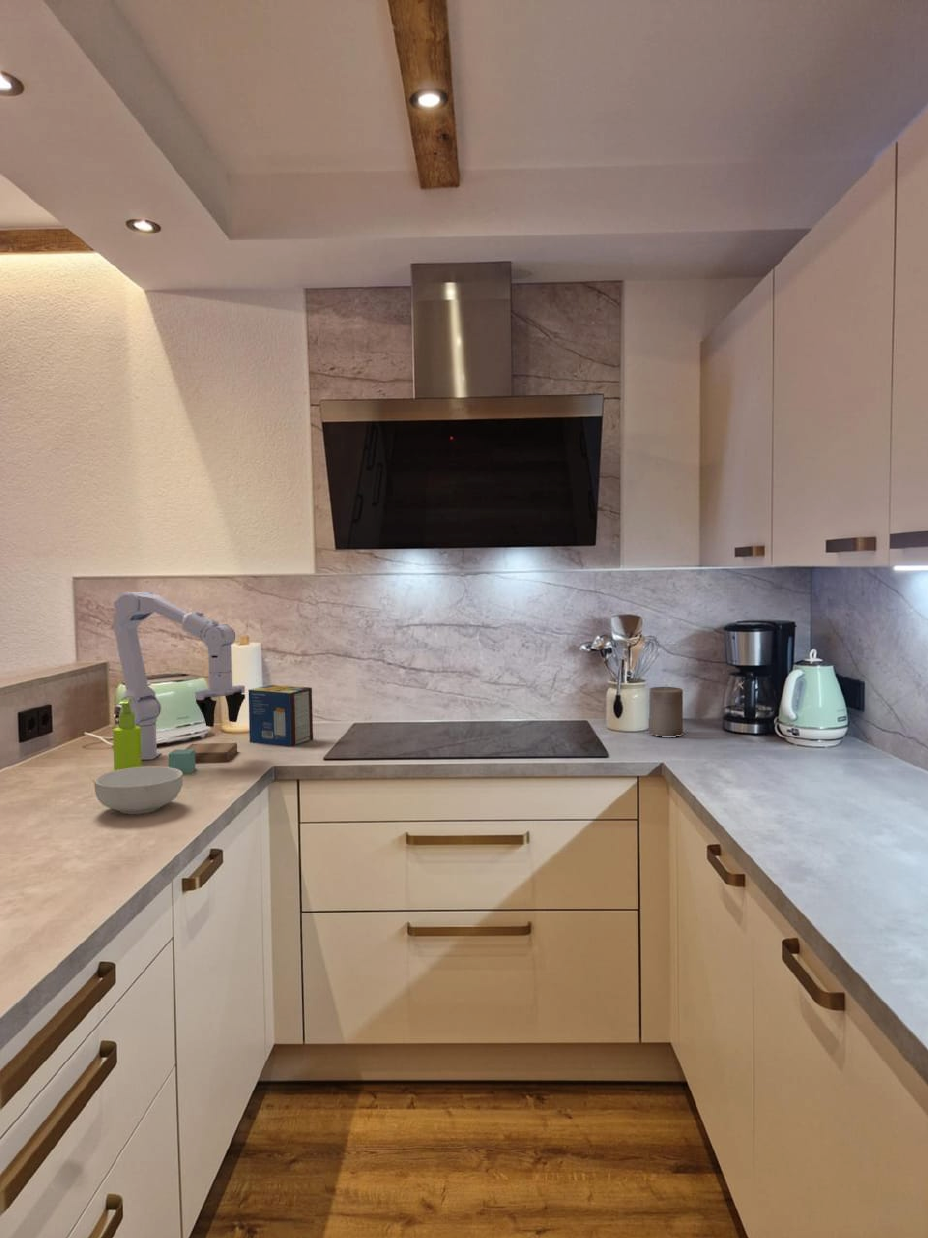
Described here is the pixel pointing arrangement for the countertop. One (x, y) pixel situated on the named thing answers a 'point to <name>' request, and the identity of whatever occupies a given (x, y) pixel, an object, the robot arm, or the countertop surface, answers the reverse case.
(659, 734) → the pillar candle
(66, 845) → the countertop surface
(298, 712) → the protein box
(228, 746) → the walnut base
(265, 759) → the countertop surface
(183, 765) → the teal cube
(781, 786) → the countertop surface
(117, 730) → the soap dispenser
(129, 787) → the cereal bowl
